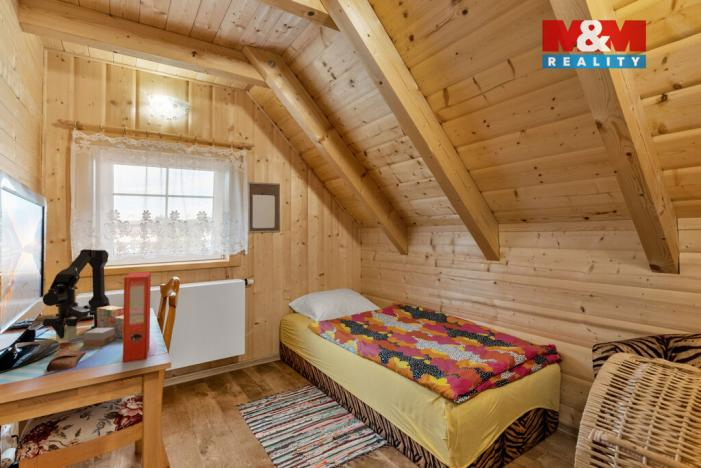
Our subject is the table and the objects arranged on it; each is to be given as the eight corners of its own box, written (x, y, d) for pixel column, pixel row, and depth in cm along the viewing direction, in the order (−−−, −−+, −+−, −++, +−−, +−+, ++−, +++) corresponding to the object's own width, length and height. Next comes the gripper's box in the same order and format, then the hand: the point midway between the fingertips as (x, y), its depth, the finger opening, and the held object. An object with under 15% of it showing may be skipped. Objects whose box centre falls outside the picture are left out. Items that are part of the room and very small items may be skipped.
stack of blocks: (136, 335, 165) (136, 309, 165) (122, 339, 160) (122, 312, 160) (110, 329, 175) (110, 304, 175) (96, 332, 170) (96, 307, 170)
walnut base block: (96, 341, 157) (96, 334, 157) (114, 340, 158) (114, 334, 158) (83, 346, 149) (83, 339, 149) (102, 346, 150) (102, 339, 150)
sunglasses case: (76, 367, 126) (64, 353, 124) (55, 380, 123) (42, 366, 121) (86, 352, 141) (76, 339, 140) (68, 363, 139) (57, 350, 137)
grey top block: (96, 334, 157) (96, 327, 157) (114, 334, 158) (114, 327, 158) (83, 339, 149) (83, 332, 149) (102, 339, 150) (102, 332, 150)
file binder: (150, 346, 150) (150, 271, 150) (147, 359, 135) (148, 276, 134) (128, 348, 146) (128, 272, 146) (122, 362, 131) (123, 277, 131)
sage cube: (65, 337, 156) (65, 326, 156) (76, 337, 156) (76, 326, 156) (56, 340, 151) (56, 329, 151) (67, 340, 151) (68, 329, 151)
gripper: (69, 305, 144) (68, 343, 144) (100, 297, 163) (99, 330, 163) (41, 305, 144) (41, 343, 144) (75, 297, 162) (75, 330, 162)
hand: (66, 336), depth 153 cm, fingers closed on sage cube, 5 cm apart
